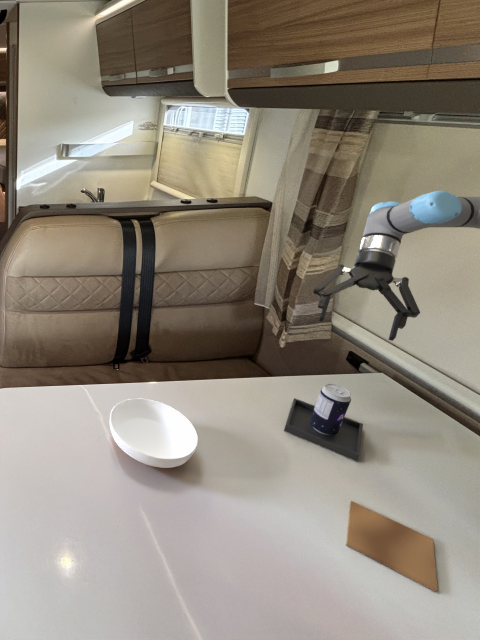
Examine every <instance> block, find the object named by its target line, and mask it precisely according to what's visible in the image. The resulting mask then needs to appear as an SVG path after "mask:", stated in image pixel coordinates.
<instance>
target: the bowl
mask: <svg viewBox="0 0 480 640" xmlns="http://www.w3.org/2000/svg"><path fill="white" fill-rule="evenodd" d="M109 428H110V433H111V435H112V438H113V440H114V442H115V443H116V444H117V446H118V447H119V449H121V451H122V452H124V453H125V454H127V455H128V456H129V457H130V458H132V459H134V460H135V461H138V462H139V463H141V464H144V465H146V466H150V467H153V468H161V469H169V468H170V469H171V468H176V467H180V466H182V465H184V464H185V463H186V462H188V461H189V460H190V459H191V458H192V457H193V455H194V454H195V451H196V450H197V448H198V444H199V436H198V433H197V430H196V428H195V426H194V425H193V423H192V421H190V420H189V419H188V417H186V416H185V415H184V414H182V413H181V412H180V411H179V410H177V409H176V408H174V407H173V406H170V405H168V404H166V403H164V402H161V401H157V400H155V399H149V398H142V397H138V398H133V397H132V398H128V399H125V400H121V401H120V402H118V403H117V404H115V405H114V406H113V407H112V408H111V411H110V413H109Z"/></svg>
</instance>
